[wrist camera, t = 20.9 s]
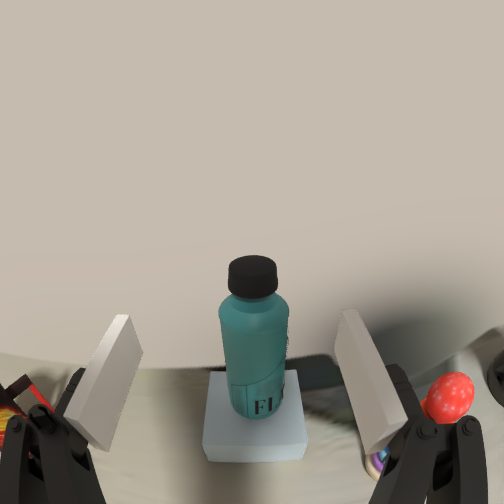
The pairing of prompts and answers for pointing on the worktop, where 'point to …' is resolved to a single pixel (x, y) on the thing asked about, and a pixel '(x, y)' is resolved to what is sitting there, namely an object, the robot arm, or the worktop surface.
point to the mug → (4, 406)
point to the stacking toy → (435, 410)
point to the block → (253, 426)
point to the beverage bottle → (254, 337)
